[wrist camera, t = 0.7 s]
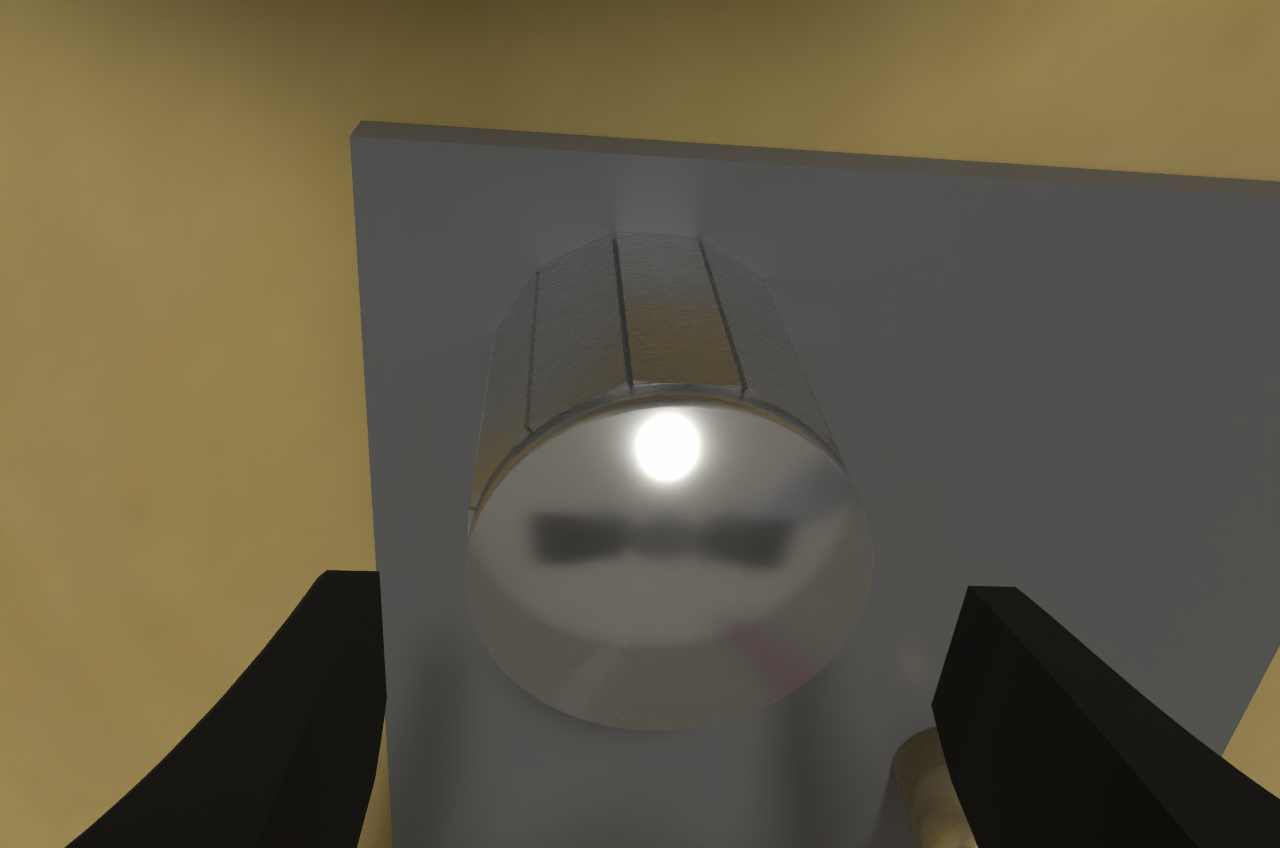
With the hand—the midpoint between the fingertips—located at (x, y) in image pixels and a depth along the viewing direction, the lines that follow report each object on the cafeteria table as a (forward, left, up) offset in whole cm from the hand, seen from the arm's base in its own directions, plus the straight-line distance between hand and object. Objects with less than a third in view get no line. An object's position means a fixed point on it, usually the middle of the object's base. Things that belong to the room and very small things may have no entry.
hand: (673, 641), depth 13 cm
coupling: (0, 0, -7) cm, 7 cm away
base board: (-5, +6, -8) cm, 11 cm away
